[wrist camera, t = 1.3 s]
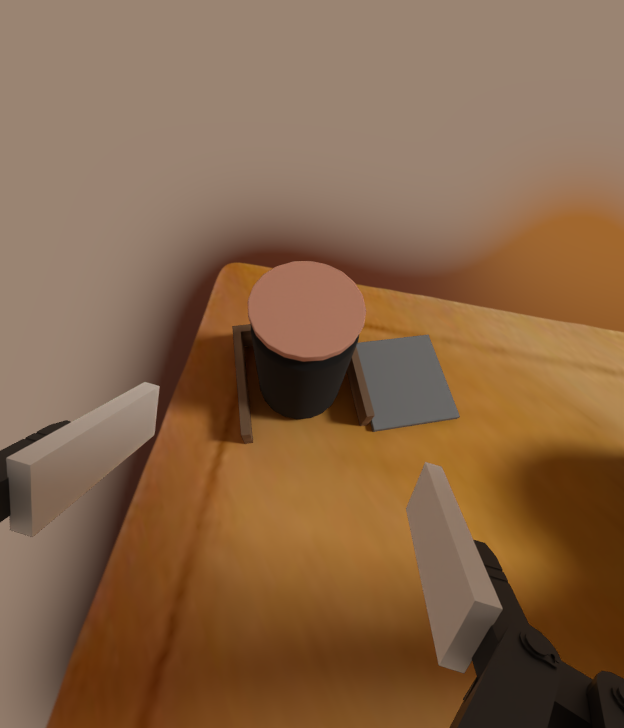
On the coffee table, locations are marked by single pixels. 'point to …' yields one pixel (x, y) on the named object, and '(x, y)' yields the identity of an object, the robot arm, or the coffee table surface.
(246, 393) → the walnut holder
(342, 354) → the coffee jar
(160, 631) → the coffee table surface
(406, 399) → the charcoal mat
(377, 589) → the coffee table surface
